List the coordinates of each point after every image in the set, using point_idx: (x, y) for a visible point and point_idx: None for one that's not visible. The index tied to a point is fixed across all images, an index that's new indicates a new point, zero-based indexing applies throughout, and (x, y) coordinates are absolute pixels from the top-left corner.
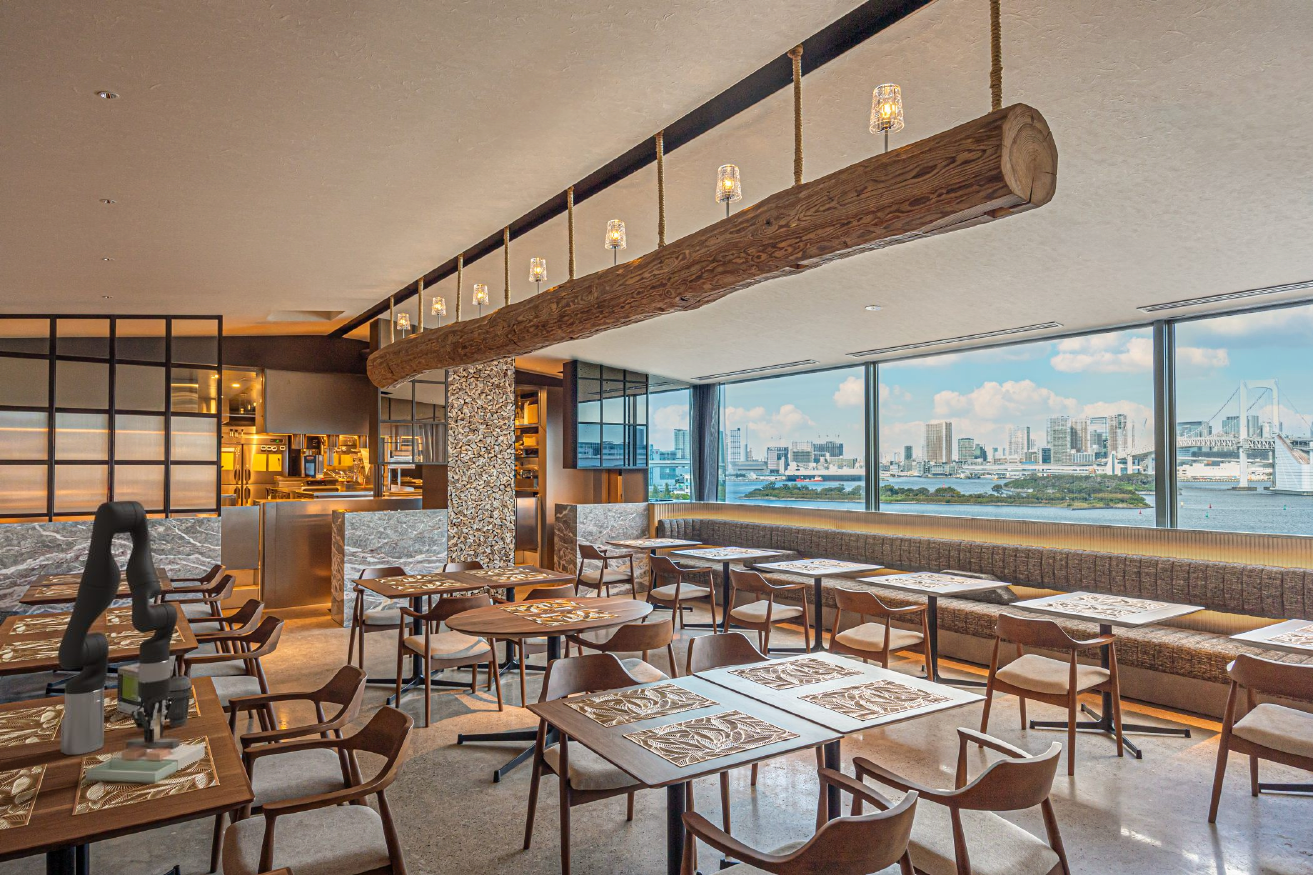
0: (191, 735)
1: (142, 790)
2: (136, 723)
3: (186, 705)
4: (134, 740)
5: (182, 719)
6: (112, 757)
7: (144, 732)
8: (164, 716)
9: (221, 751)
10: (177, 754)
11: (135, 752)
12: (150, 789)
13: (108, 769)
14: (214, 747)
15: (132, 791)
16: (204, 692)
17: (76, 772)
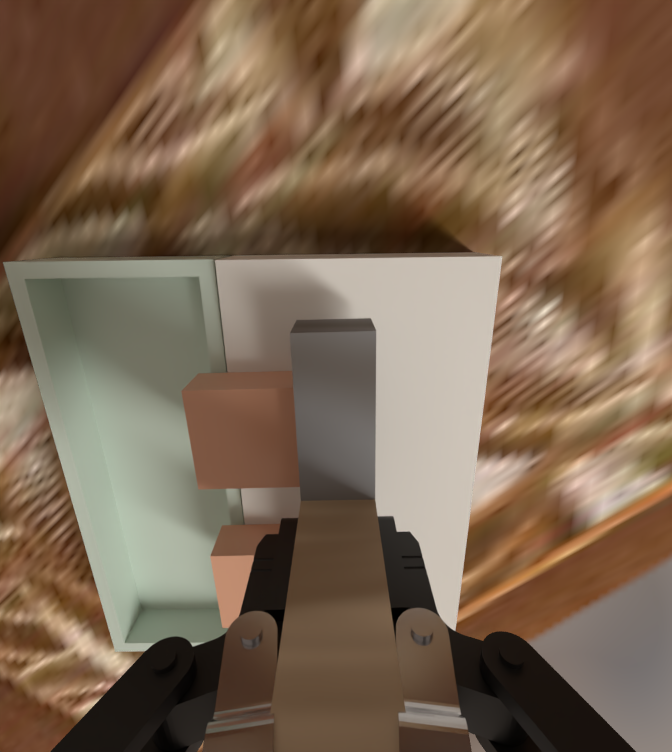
0: None
1: (63, 614)
2: (78, 737)
3: None
4: (325, 386)
5: None
6: (216, 272)
7: (244, 598)
8: (480, 732)
9: (501, 630)
10: None
11: (203, 487)
12: (81, 633)
13: (186, 285)
14: (559, 575)
15: (40, 588)
16: None
17: (119, 53)
